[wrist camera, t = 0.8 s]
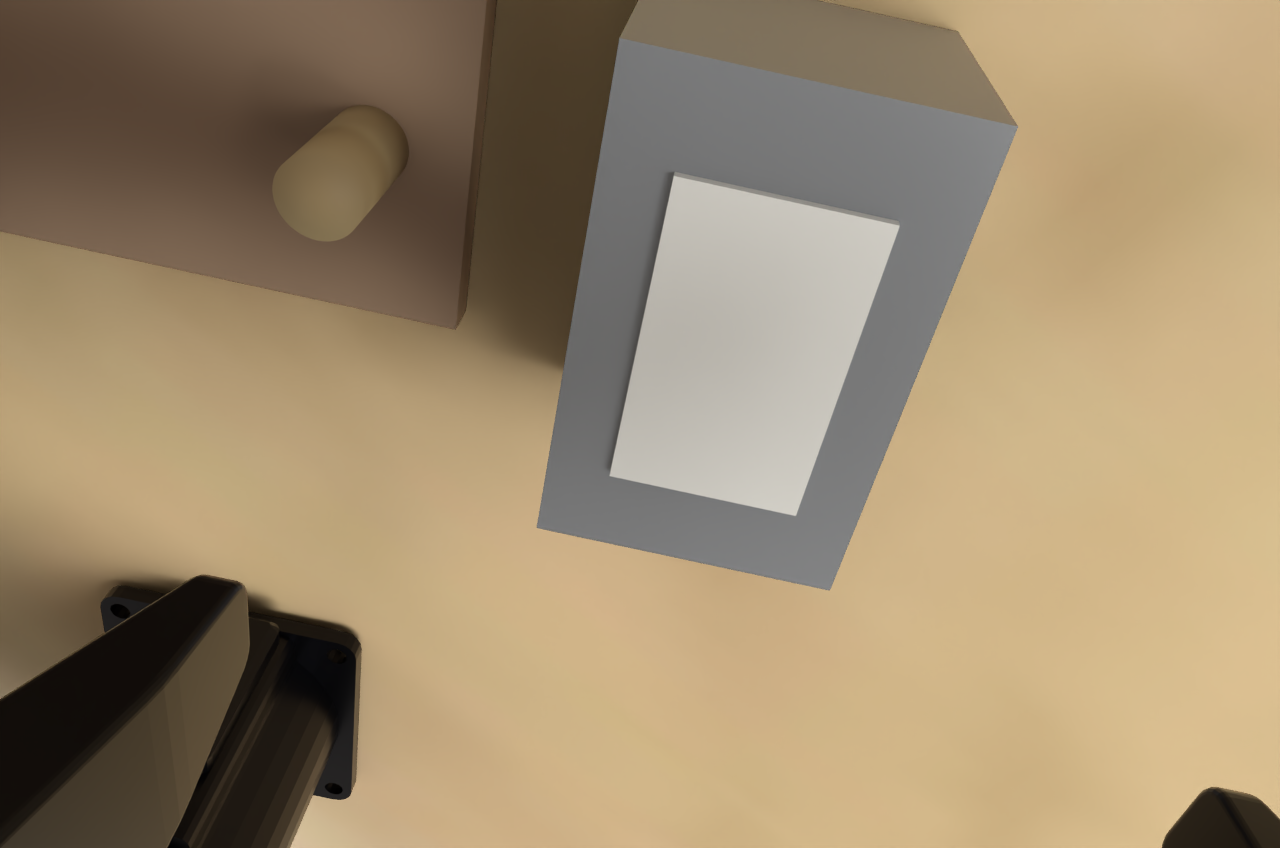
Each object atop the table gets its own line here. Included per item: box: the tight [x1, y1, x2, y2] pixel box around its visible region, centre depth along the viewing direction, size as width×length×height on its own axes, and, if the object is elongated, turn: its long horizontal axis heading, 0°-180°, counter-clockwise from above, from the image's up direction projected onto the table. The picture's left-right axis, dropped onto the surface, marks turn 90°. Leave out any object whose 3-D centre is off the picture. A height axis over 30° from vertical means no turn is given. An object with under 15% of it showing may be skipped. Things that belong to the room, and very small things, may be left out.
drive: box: [537, 0, 1018, 590], centre depth 17 cm, size 8×5×5 cm, turn 169°
